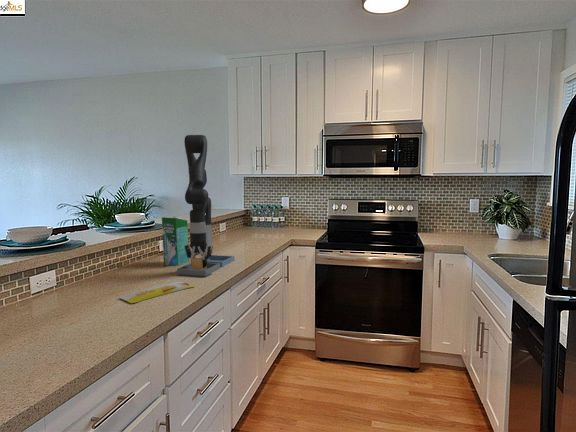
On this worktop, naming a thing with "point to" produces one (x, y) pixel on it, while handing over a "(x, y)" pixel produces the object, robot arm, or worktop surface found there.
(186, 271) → the charcoal tray
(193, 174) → the robot arm
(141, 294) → the food package
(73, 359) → the worktop surface
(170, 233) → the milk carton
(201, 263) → the orange cube
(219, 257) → the slate-blue tray
